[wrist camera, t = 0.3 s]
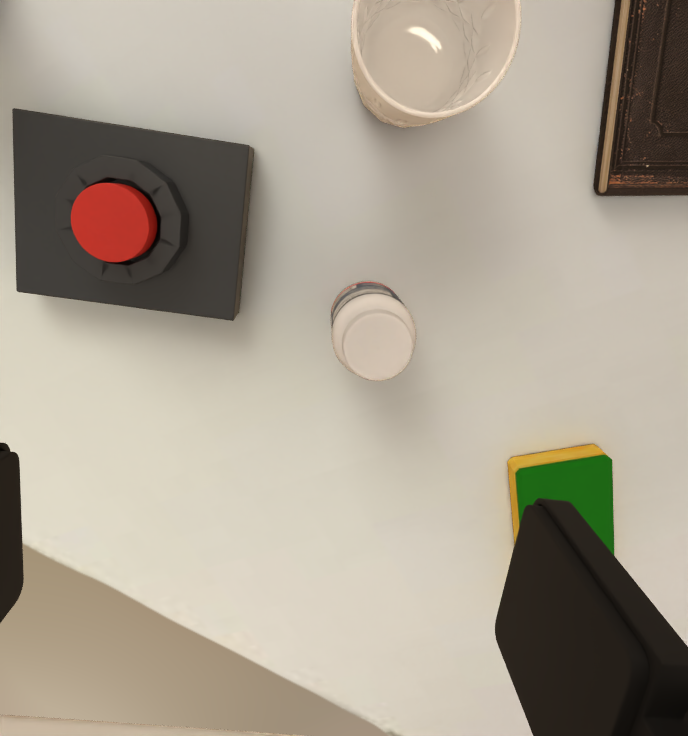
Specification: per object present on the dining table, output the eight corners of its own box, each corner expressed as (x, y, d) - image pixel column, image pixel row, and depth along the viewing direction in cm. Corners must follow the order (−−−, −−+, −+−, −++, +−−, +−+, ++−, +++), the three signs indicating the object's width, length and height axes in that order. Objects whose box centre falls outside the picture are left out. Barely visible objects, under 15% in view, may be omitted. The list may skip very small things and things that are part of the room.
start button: (83, 178, 33) (70, 177, 31) (159, 189, 33) (150, 189, 32) (82, 253, 34) (70, 256, 33) (155, 263, 35) (147, 267, 33)
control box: (32, 113, 36) (-8, 102, 31) (254, 148, 37) (245, 142, 32) (35, 285, 39) (-2, 297, 34) (239, 313, 40) (228, 327, 35)
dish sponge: (597, 442, 44) (612, 456, 41) (601, 589, 48) (616, 609, 45) (506, 457, 44) (516, 471, 41) (518, 602, 48) (528, 623, 46)
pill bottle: (404, 350, 41) (425, 390, 32) (332, 355, 41) (335, 397, 32) (402, 277, 39) (423, 299, 31) (327, 282, 39) (328, 306, 31)
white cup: (356, 148, 37) (368, 133, 27) (332, 13, 34) (336, -56, 25) (475, 124, 37) (529, 99, 27) (459, -14, 34) (511, -94, 25)
